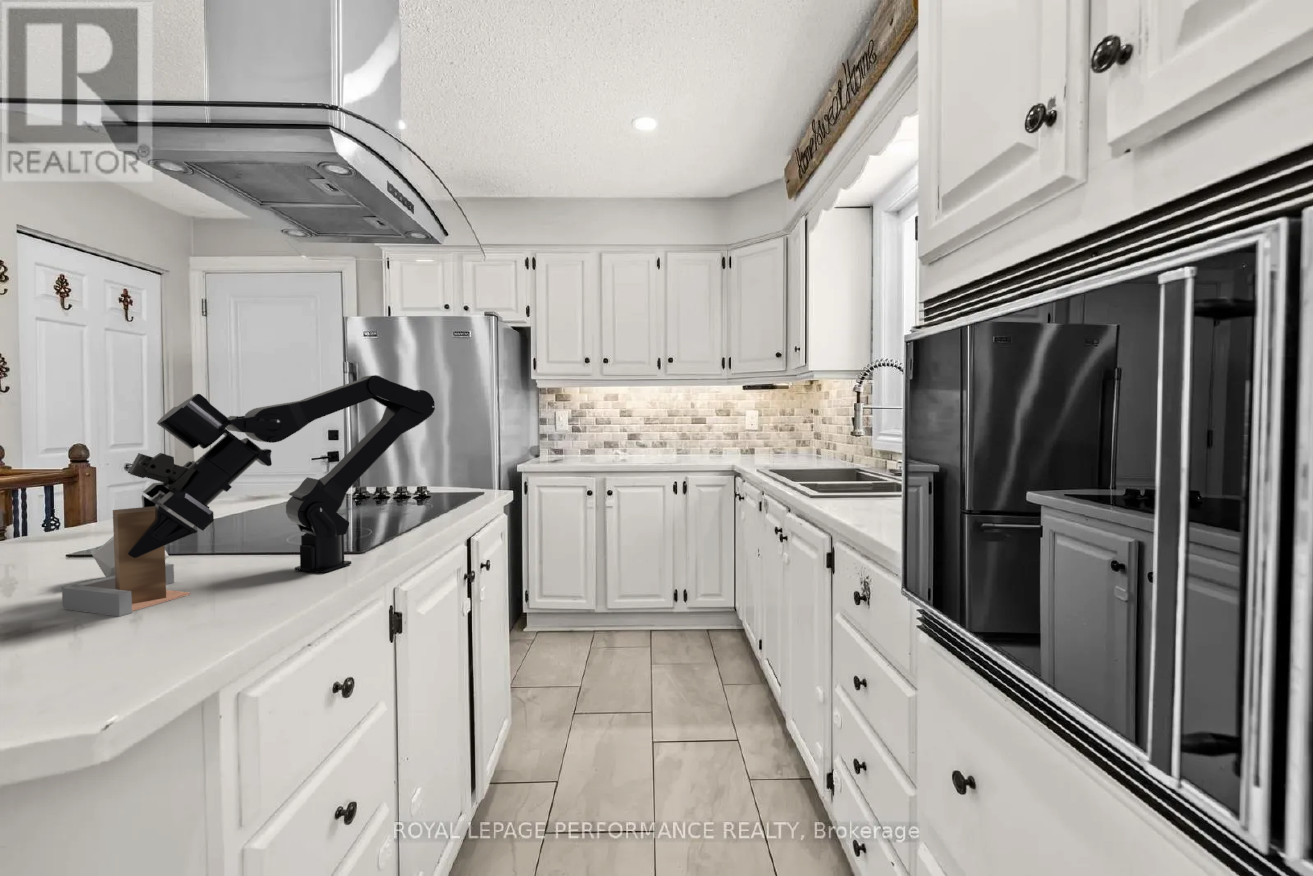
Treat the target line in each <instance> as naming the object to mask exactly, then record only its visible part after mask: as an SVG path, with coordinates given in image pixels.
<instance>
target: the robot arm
mask: <svg viewBox="0 0 1313 876" xmlns="http://www.w3.org/2000/svg"><path fill="white" fill-rule="evenodd" d="M368 400H373V401H374V402H376V403H378V404H380V405H381V406H384V407H385V409H384V412H383V414H382V417H381V419H380V420H379V422H378V423H376V424H375V426H374V427H373V428H372V429H370V431H369V432H367V434H366V435H365V436H364V437H363V438H362V439H361V440H360V441H358V443H357V444H356V445H355V446H354V447H352V449H350V450H349V451H348V452H347V454H346V455H344V457H343V458H341V460H340V461H339V462H337V463H336V465H335V466H333V467H332V469H331V470H330V471H328V473H327V474H326V475H324V476H323V477H320V478H313V477H305V478H304V480H303V481H302V482H301V484H300V485H299V486H298V487H297V488H296V489H295V490H294V491H291V492H290V493H288V496H291V497H290V498H289V499H288V501H287V502H286V504H285V513H286V516H287V518H288V519H289V520H290V521H291V522H293V523H295V524H296V525H297V527H298V530H299V531H300V532H301V533H304V534H303V535H301V536H300V539H301V543H300V545H299V561H300V563H299V565H298V566H295V567H294V571H299V572H300V571H301V572H311V573H322V574H323V573H327V572H331V571H333V570H337V569H340V568H343V567H346V566H349V565H352V561H351V560H345V535H346V534H347V532H348V530H349V526H350V522H349V521H348V520H347V519H346V518H344V516H342V515H340V514H339V513H338V511H339V510H340V508H341V507H342V505H343V504H344V503H343V502H344V501H345V498H346V496H347V493H348V491H349V490H350V489H351V488H352V486H354V485H355V483H356V482H357V481H358V480H359V479H360V478H361V477H363V475H364V474H365V473H366V472H367V471H368V470H369V469H370V468H371V466H372V465H374V463H376V462H377V460H379V459H380V457H381V456H382V455H383V454H384V453H385V452H386V451H387V450H388V449H389V448H390V447H391V446H392V445H393V444H394V443H395V442H396V441H397V440H398V439H399V438H400V437H401V436H402V435H403V434H405V433H406V432H408V431H410V430H412V429H413V428H416V427H418V426H419V425H421V424H422V423H423V422H425V421H426V420H427V419H429V418H431V416H433V413H434V412H435V410H436V408H435V403H436V402H435V399H434V398H433V395H432V394H431V393H430V392H428V391H426V390H423V389H412V388H410V387H408V386H406V385H405V386H404V385H402V384H400V383H396V382H394V381H390V380H388V379H387V378H384V377H383V376H381V375H376V374H375V375H366V376H365V375H364V376H362V377H361V378H360V379H357V380H355V381H352V382H349V383H346V384H343V385H340V386H338V387H334V388H332V389H329V390H326V391H323V392H320V393H318V394H315V395H312V396H308V397H306V398H303V399H301V400H296V401H291V402H285V403H277V404H273V405H267V406H260V407H256V408H252V409H250V410H248V411H247V412H246V413H245V414H244V415H239V416H238V415H229V416H228V417H227V416H226V415H225V414H223V413H222V412H221V411H219V409H218V408H216V407H215V406H214V405H213V404H211V403H210V402H209V400H208V399H207V398H206V397H204V396H203V395H202V394H200V393H195V394H194V395H192V396H191V397H190V398H187V399H186V400H184V401H183V402H182V403H180V404H178V405H177V406H174V407H172V408H171V409H170V410H169V411H167V412H166V413H165V414H164V415H163V416H161V418H160V419H158V421H157V422H156V424H157V425H158V426H160V427H161V428H162V429H163V430H164V431H166V432H167V433H169V434H170V435H172V436H173V437H174V438H176V439H177V440H178V441H179V442H181V443H182V444H184V445H185V446H187V447H188V448H189V449H191V450H192V449H195V448H197V447H198V446H199V447H200V448H201V449H207V448H208V447H210V446H212V445H213V444H214V443H215V442H216V441H217V440H219V441H217V442H216V443H215V444H214V445H213V446H212V447H210V448H209V449H208V450H207V451H205V453H203V454H202V455H201V456H199V458H198V459H196V461H195V460H192V461H190V460H189V461H187V462H186V463H185V464H184V465H183V466H182V465H179V464H176V463H175V459H174V458H175V457H174V456H172V455H169V454H165V453H162V452H159V453H158V454H156V455H155V456H150V455H146V454H143V453H137V455H136V457H135V459H134V460H133V462H132V464H131V466H130V467H129V469H128V471H127V473H128V474H129V475H132V476H134V477H138V478H141V479H144V478H146V479H150V480H153V481H157V482H153V483H152V484H151V485H149V486H148V487H146V489H144V490H143V491H142V492H143V493H144V494H145V495H147V497H146V496H144V495H141V502H142V503H141V504H142V507H152V506H155V520H154V522H153V523H152V524H151V525H150V526H149V528H148V529H147V530H146V531H145V532H144V534H143V535H142V536H141V537H140V538H139V540H138V541H137V542H136V543H135V544H134V546H133V547H132V548H131V549H130V551H129V552H128V555H130V556H131V557H133V558H137V557H139V556H141V555H144V554H146V553H148V552H150V551H153V550H155V549H157V548H160V547H162V546H164V545H165V546H166V545H169V544H171V543H173V542H176V541H177V540H181V539H184V538H185V537H189V536H190V535H193V534H194V535H195V534H197V533H199V532H198V530H196V529H195V527H196V528H198V529H199V530H200V531H203V532H204V531H205V530H206V529H207V527H208V526H210V525H211V524H212V523H213V522H214V520H215V518H214V511H213V510H211V509H210V506H209V505H210V504H211V502H213V501H214V500H215V499H217V497H218V496H219V495H221V493H223V492H228V491H230V489H232V488H233V486H231V484H232V483H233V482H235V481H236V480H237V478H239V477H240V476H241V475H242V474H244V473H245V471H246V470H248V468H250V467H251V466H252V465H253V464H254V463H255V462H258V463H259V464H260V465H262V466H266V467H271V466H272V464H273V463H272V458H271V457H272V456H271V455H272V452H273V451H272V449H271V448H270V449H269V448H260V446H258V445H257V444H256V443H255V442H253V441H257V442H263V443H279V442H282V441H283V440H286V439H287V438H289V437H290V436H292V435H294V434H296V433H298V432H299V431H300V430H302V429H304V427H306V426H307V425H309V424H310V423H312V422H313V421H314V422H315V420H318V419H321V418H324V417H326V416H328V415H331V414H334V413H336V412H339V411H342V410H344V409H347V408H349V407H350V408H351V407H352V406H355V405H357V404H360V403H363V402H365V401H368ZM231 431H232V432H237V433H244V434H245V435H246V436H247V437H245V438H242V439H239V438H238V437H237V436H236V435H234V434H233V433H232V432H231ZM222 436H223V437H222ZM221 437H222V438H221ZM220 438H221V439H220ZM249 438H250V439H251V440H250V439H249ZM252 440H253V441H252Z"/></svg>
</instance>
